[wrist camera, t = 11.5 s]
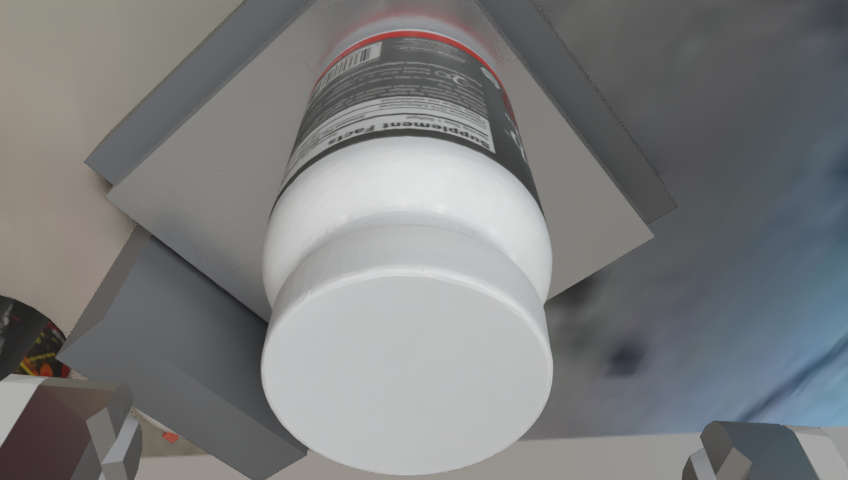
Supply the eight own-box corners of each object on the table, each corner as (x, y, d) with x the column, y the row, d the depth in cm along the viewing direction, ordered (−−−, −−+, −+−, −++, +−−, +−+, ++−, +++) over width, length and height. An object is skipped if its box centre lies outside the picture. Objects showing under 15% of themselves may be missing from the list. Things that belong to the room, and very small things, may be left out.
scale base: (413, -166, 18) (413, -139, 12) (660, 177, 24) (735, 300, 19) (55, 185, 24) (-57, 311, 19) (325, 387, 31) (304, 528, 25)
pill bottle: (497, 214, 20) (552, 503, 12) (311, 205, 20) (242, 494, 12) (524, 26, 17) (624, 251, 9) (303, 14, 17) (200, 234, 9)
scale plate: (408, -92, 17) (408, -84, 16) (644, 216, 22) (654, 236, 21) (119, 177, 21) (104, 197, 20) (374, 380, 26) (373, 403, 25)
